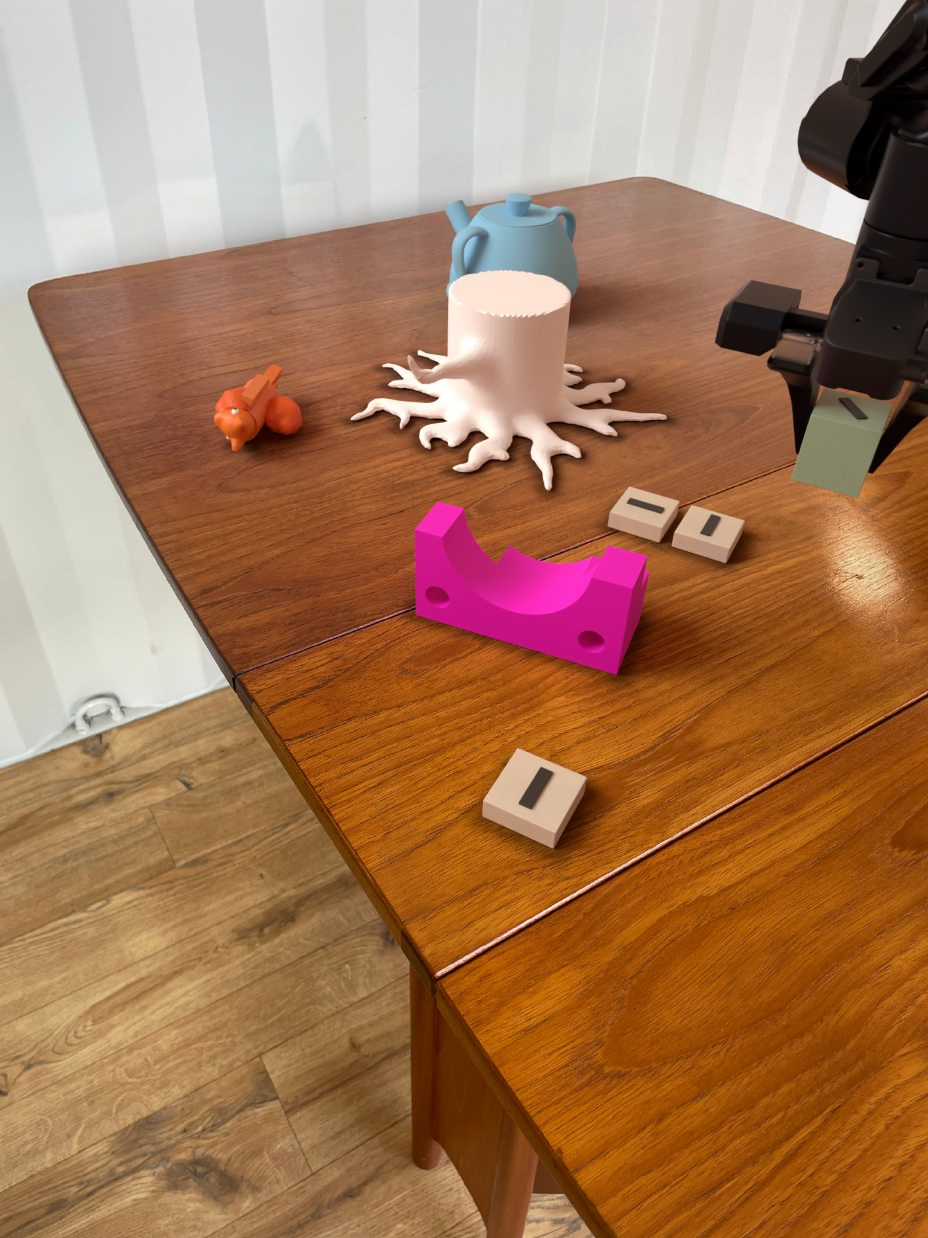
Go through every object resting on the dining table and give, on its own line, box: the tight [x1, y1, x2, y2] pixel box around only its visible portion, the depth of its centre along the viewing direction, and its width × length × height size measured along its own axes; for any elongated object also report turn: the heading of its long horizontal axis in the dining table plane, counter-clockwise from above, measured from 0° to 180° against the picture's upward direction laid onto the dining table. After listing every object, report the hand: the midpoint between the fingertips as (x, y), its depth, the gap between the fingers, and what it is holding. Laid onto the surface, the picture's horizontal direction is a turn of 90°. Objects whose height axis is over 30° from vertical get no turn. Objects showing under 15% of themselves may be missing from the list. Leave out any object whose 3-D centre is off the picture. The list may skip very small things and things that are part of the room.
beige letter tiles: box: [607, 486, 746, 564], centre depth 73 cm, size 10×4×2 cm, turn 62°
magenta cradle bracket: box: [414, 501, 650, 676], centre depth 62 cm, size 15×6×8 cm, turn 67°
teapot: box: [444, 192, 579, 300], centre depth 106 cm, size 20×20×13 cm
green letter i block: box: [790, 387, 894, 499], centre depth 60 cm, size 4×4×5 cm
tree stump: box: [350, 270, 668, 492], centre depth 86 cm, size 28×28×11 cm
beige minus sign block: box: [481, 747, 588, 850], centre depth 51 cm, size 4×4×2 cm
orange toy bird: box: [212, 363, 303, 453], centre depth 83 cm, size 5×8×12 cm
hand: (834, 461), depth 62 cm, fingers closed on green letter i block, 4 cm apart
